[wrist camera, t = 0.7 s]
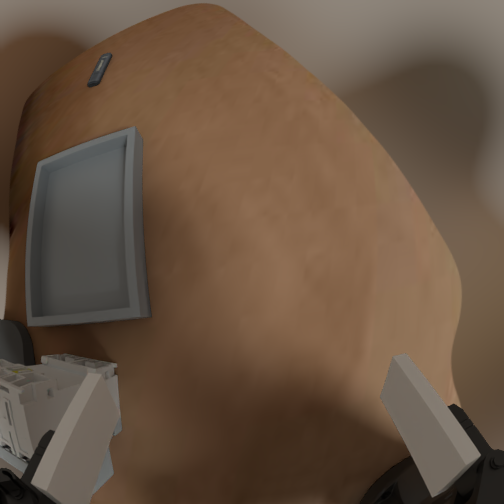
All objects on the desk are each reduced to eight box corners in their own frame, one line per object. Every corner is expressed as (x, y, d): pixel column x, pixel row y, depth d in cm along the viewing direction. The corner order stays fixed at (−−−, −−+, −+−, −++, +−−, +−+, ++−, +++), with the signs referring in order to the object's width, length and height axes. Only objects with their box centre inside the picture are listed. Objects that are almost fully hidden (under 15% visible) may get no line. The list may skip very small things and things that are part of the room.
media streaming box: (33, 320, 27) (18, 319, 24) (50, 426, 23) (37, 431, 20) (-18, 318, 26) (-31, 316, 23) (-6, 406, 23) (-18, 408, 20)
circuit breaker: (78, 455, 22) (8, 499, 8) (65, 353, 26) (-31, 360, 11) (129, 471, 22) (67, 535, 8) (116, 363, 26) (20, 386, 11)
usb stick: (100, 86, 36) (97, 80, 34) (88, 90, 36) (84, 84, 34) (114, 55, 38) (111, 50, 36) (102, 59, 38) (100, 54, 36)
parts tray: (151, 317, 27) (140, 316, 24) (42, 326, 26) (27, 326, 23) (143, 139, 32) (135, 126, 29) (48, 171, 31) (37, 162, 28)
